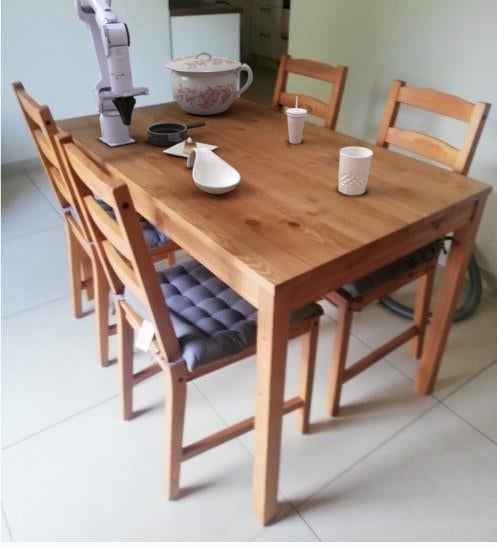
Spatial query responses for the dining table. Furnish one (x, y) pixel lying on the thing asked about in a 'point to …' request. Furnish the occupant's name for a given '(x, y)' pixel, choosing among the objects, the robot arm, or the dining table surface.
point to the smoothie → (296, 123)
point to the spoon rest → (212, 171)
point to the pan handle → (195, 125)
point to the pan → (167, 134)
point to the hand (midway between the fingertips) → (126, 124)
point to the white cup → (354, 170)
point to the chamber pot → (206, 82)
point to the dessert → (186, 148)
